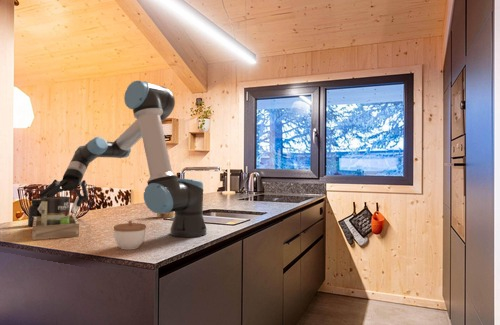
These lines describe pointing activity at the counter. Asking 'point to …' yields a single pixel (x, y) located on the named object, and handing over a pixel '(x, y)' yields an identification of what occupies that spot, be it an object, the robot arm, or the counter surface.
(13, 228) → the counter surface
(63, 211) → the coffee can
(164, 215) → the candy box
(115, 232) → the lidded jar
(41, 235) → the caddy
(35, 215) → the supplement bottle
